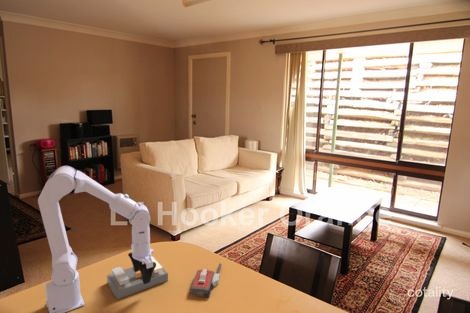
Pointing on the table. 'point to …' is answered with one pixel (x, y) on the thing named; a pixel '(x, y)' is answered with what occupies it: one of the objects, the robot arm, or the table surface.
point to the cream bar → (157, 266)
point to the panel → (134, 283)
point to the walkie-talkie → (205, 282)
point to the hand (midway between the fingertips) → (142, 277)
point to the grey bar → (120, 275)
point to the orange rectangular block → (137, 274)
